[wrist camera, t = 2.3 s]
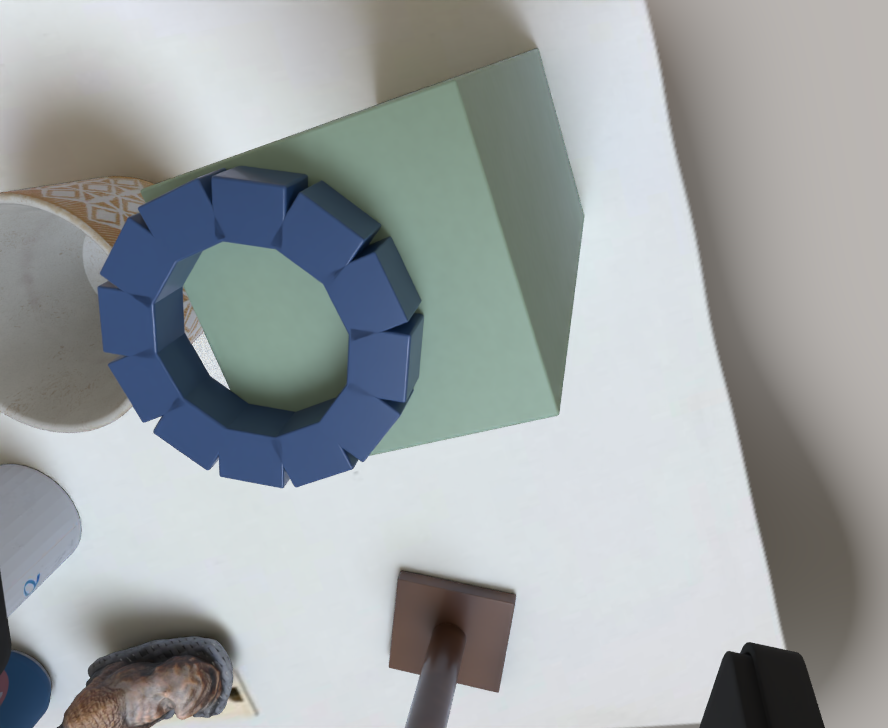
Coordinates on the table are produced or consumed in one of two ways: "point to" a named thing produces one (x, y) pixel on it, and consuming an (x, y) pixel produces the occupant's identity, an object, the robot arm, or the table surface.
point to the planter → (62, 302)
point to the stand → (448, 641)
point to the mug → (32, 531)
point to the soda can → (23, 691)
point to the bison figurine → (154, 685)
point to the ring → (315, 251)
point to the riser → (418, 256)
